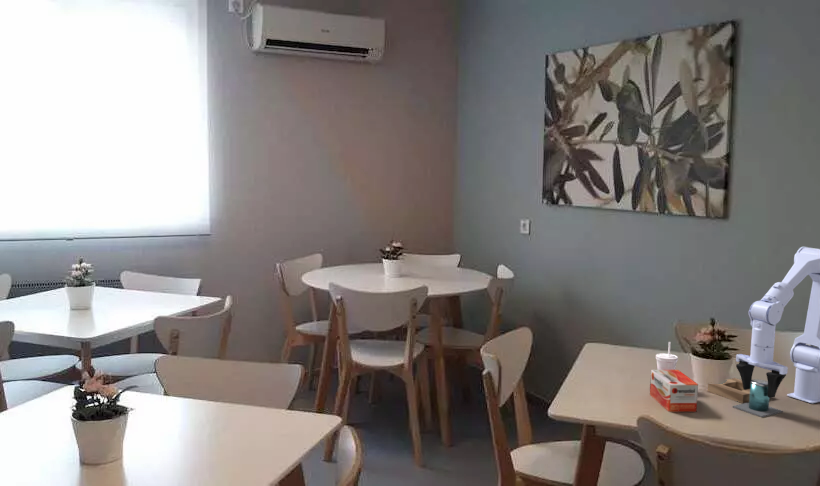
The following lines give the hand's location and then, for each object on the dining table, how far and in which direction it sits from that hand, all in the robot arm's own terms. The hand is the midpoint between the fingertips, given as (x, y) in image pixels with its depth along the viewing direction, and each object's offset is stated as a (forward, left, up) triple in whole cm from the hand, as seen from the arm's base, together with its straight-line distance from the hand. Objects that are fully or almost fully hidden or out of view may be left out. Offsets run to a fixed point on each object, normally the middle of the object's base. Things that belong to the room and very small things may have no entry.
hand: (758, 393), depth 208 cm
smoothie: (+8, -26, -5) cm, 28 cm away
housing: (-7, -12, -5) cm, 14 cm away
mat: (0, 0, -5) cm, 5 cm away
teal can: (0, 0, -4) cm, 4 cm away
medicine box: (+17, -15, -5) cm, 23 cm away
